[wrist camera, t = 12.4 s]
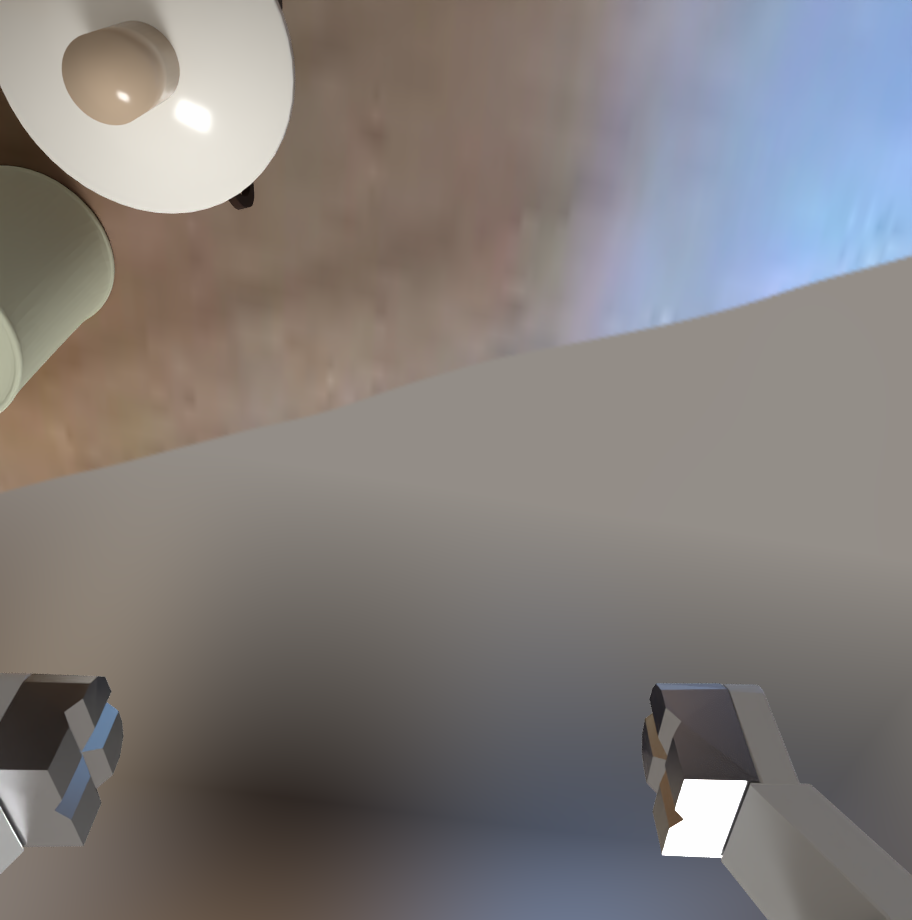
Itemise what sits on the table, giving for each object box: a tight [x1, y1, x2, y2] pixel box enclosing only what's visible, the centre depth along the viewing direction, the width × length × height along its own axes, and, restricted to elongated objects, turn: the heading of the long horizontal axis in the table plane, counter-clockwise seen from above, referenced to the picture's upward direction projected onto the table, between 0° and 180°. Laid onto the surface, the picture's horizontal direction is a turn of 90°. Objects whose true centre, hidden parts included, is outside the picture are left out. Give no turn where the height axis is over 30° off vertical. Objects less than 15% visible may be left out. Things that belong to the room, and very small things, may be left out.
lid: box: [0, 0, 295, 213], centre depth 28 cm, size 11×11×4 cm
